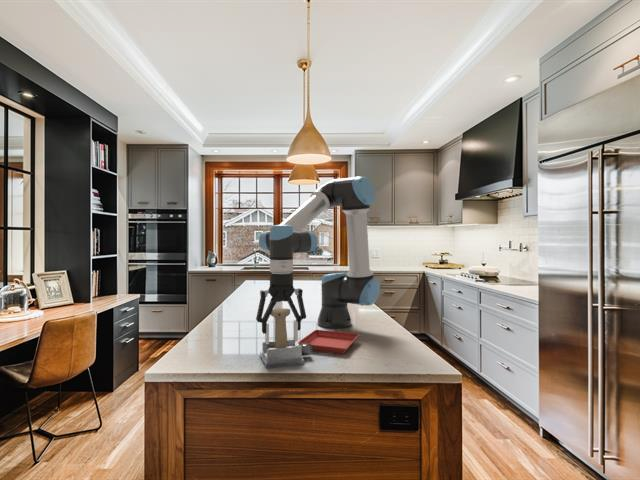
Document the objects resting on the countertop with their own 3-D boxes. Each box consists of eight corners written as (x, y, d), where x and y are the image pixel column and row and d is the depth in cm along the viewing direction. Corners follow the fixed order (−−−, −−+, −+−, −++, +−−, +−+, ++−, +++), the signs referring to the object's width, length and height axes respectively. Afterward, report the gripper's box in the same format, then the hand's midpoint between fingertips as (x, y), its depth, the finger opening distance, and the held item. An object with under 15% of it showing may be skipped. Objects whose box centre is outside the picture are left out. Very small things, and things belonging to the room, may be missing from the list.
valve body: (305, 351, 129) (305, 336, 129) (316, 362, 118) (316, 346, 117) (260, 355, 124) (260, 340, 124) (266, 368, 112) (266, 351, 112)
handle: (272, 353, 122) (271, 308, 122) (292, 352, 122) (290, 308, 122) (270, 358, 118) (269, 312, 117) (291, 358, 118) (289, 311, 117)
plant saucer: (346, 357, 123) (346, 347, 123) (296, 351, 130) (297, 342, 130) (359, 342, 140) (359, 333, 140) (315, 337, 147) (315, 329, 146)
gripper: (249, 274, 112) (249, 348, 113) (316, 272, 119) (316, 341, 120) (246, 272, 120) (246, 341, 120) (309, 270, 126) (309, 335, 127)
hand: (281, 341), depth 120 cm, fingers open, 9 cm apart
